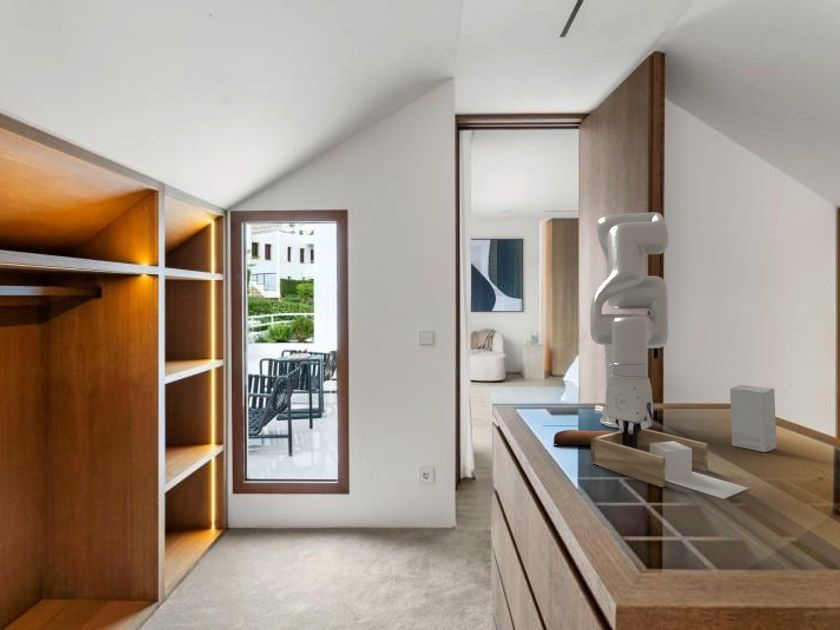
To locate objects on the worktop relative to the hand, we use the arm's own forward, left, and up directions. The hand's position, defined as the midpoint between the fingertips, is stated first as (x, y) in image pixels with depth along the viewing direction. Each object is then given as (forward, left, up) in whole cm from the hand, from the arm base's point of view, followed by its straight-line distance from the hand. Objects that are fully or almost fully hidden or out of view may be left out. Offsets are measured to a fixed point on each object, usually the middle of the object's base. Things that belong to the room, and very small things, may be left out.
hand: (629, 449), depth 132 cm
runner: (+11, -2, -3) cm, 12 cm away
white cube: (+10, -1, -3) cm, 11 cm away
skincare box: (+16, +31, -3) cm, 35 cm away
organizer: (+5, 0, -3) cm, 6 cm away
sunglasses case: (-15, +7, -4) cm, 17 cm away
